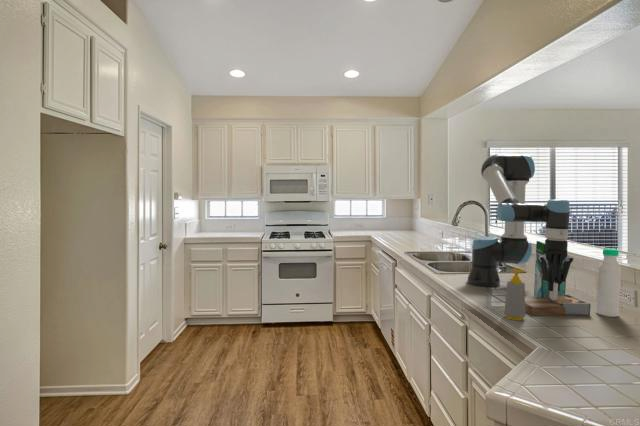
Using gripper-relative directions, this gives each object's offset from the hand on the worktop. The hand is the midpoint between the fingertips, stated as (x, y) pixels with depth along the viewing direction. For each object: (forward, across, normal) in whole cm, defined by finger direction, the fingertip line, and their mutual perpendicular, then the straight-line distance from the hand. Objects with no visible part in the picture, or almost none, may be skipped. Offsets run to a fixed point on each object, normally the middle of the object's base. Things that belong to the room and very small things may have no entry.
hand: (553, 299), depth 152 cm
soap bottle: (+5, -20, -11) cm, 24 cm away
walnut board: (+4, -6, 0) cm, 7 cm away
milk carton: (+4, +7, +14) cm, 16 cm away
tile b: (+1, +6, 0) cm, 6 cm away
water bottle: (+4, +18, -5) cm, 19 cm away
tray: (+4, +5, 0) cm, 7 cm away
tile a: (+1, +3, 0) cm, 3 cm away
